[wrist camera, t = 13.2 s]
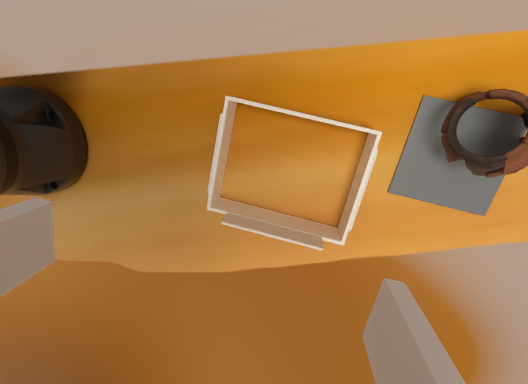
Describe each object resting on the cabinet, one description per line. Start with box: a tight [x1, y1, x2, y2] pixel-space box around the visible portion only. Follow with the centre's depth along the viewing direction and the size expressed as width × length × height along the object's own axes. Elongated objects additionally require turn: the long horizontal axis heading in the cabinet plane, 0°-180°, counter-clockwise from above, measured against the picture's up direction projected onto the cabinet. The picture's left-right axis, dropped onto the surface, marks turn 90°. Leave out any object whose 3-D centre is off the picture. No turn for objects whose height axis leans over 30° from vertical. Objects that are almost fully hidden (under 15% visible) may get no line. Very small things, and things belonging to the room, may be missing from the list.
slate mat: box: [388, 95, 528, 216], centre depth 34 cm, size 12×12×1 cm
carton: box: [207, 96, 382, 251], centre depth 34 cm, size 18×14×7 cm
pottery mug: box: [441, 89, 528, 178], centre depth 30 cm, size 12×9×8 cm
